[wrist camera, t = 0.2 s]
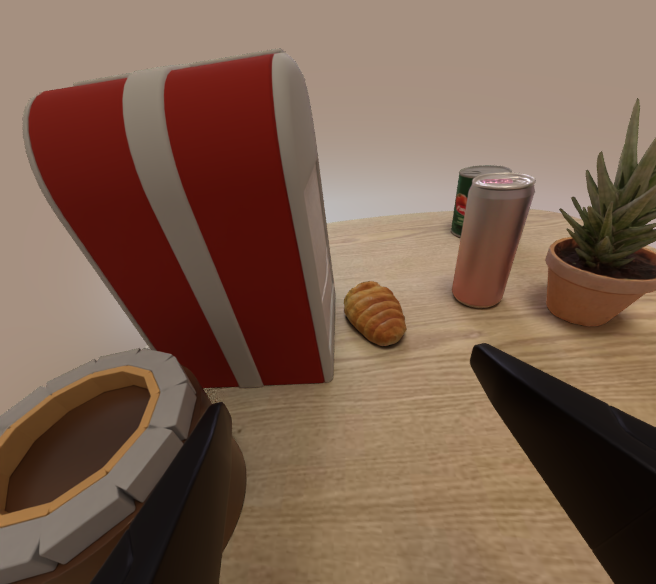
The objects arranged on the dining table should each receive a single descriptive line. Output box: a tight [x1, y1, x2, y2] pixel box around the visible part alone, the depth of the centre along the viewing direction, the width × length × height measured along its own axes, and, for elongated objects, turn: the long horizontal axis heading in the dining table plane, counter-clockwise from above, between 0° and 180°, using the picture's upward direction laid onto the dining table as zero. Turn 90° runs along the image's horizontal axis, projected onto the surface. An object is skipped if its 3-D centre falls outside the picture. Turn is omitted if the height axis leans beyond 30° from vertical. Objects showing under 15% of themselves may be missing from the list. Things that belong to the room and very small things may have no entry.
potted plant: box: [545, 98, 656, 326], centre depth 25 cm, size 10×10×25 cm
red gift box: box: [23, 48, 335, 388], centre depth 28 cm, size 16×18×27 cm
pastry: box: [344, 281, 407, 346], centre depth 33 cm, size 9×7×4 cm
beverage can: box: [452, 173, 536, 308], centre depth 32 cm, size 6×6×15 cm
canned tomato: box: [451, 165, 512, 238], centre depth 49 cm, size 8×8×11 cm
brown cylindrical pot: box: [5, 364, 246, 584], centre depth 18 cm, size 12×12×10 cm
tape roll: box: [0, 348, 196, 584], centre depth 15 cm, size 11×11×2 cm
